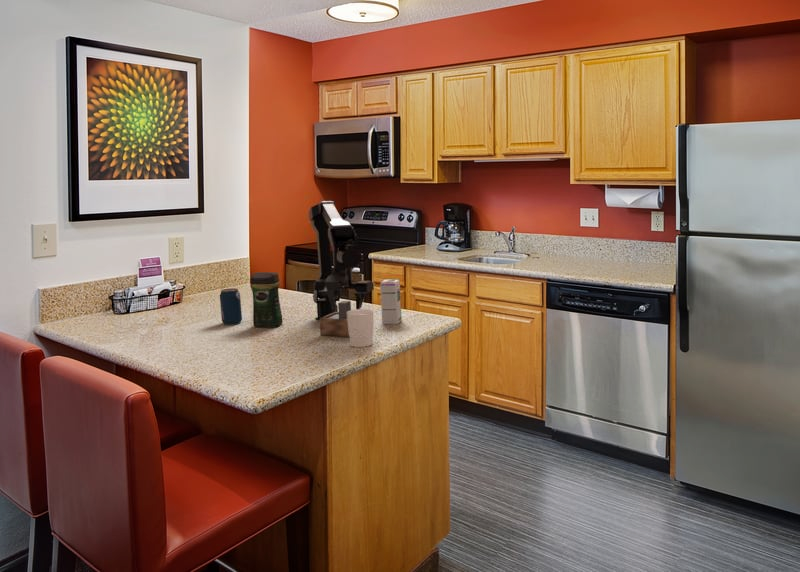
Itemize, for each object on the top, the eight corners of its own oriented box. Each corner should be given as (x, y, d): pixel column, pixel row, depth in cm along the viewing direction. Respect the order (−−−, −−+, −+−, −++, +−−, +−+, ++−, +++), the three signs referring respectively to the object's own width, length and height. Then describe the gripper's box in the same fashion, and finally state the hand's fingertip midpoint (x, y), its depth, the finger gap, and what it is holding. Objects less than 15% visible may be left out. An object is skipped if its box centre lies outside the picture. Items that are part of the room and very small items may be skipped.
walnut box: (320, 335, 195) (319, 318, 194) (335, 328, 204) (334, 311, 203) (354, 338, 191) (353, 320, 190) (367, 330, 200) (367, 313, 199)
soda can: (246, 321, 219) (243, 288, 217) (233, 326, 213) (230, 291, 211) (230, 320, 222) (228, 287, 220) (217, 324, 216) (215, 291, 214)
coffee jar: (285, 323, 214) (282, 270, 211) (276, 328, 207) (272, 274, 204) (260, 322, 216) (256, 270, 213) (250, 328, 209) (245, 274, 206)
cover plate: (326, 322, 195) (325, 303, 194) (336, 317, 202) (335, 299, 201) (354, 324, 191) (353, 304, 190) (364, 319, 198) (363, 300, 197)
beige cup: (359, 340, 188) (357, 308, 186) (379, 343, 184) (378, 310, 182) (342, 346, 182) (341, 313, 180) (363, 349, 177) (362, 315, 176)
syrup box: (398, 324, 207) (397, 281, 205) (381, 324, 208) (379, 281, 206) (401, 320, 213) (400, 279, 210) (385, 320, 214) (383, 279, 211)
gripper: (303, 266, 190) (306, 316, 192) (358, 268, 183) (360, 319, 185) (321, 262, 200) (323, 308, 202) (373, 263, 193) (375, 311, 196)
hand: (344, 312), depth 196 cm, fingers open, 9 cm apart
